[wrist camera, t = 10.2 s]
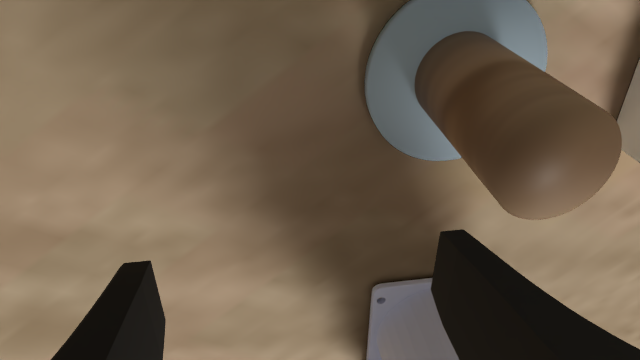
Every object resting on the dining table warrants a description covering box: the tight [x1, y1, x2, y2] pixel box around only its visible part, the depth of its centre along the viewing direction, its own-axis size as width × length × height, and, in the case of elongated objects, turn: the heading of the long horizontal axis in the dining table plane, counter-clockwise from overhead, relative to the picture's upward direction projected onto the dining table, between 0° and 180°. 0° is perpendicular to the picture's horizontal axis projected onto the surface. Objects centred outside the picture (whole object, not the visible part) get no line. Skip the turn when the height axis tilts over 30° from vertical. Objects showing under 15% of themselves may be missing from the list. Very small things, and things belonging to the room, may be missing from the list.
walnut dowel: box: [414, 31, 622, 220], centre depth 18 cm, size 4×4×8 cm
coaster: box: [364, 0, 547, 161], centre depth 21 cm, size 8×8×1 cm
